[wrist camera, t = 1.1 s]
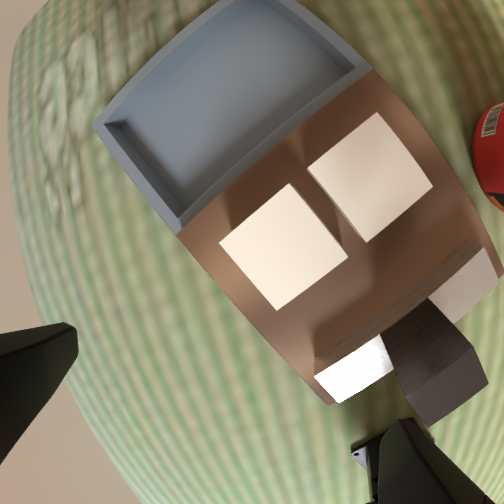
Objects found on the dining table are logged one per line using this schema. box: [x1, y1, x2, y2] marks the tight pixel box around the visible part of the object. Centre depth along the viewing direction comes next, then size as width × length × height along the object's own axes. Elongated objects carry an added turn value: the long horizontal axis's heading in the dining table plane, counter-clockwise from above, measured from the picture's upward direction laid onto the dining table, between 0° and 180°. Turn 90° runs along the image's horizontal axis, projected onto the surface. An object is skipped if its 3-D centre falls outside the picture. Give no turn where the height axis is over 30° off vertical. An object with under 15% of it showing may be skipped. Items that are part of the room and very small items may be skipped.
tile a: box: [307, 112, 433, 243], centre depth 13 cm, size 4×4×2 cm
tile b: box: [219, 183, 348, 311], centre depth 14 cm, size 4×4×2 cm
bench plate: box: [176, 69, 504, 405], centre depth 17 cm, size 14×14×4 cm
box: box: [91, 0, 374, 237], centre depth 16 cm, size 10×15×2 cm, turn 131°
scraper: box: [314, 240, 499, 428], centre depth 12 cm, size 2×11×7 cm, turn 131°
